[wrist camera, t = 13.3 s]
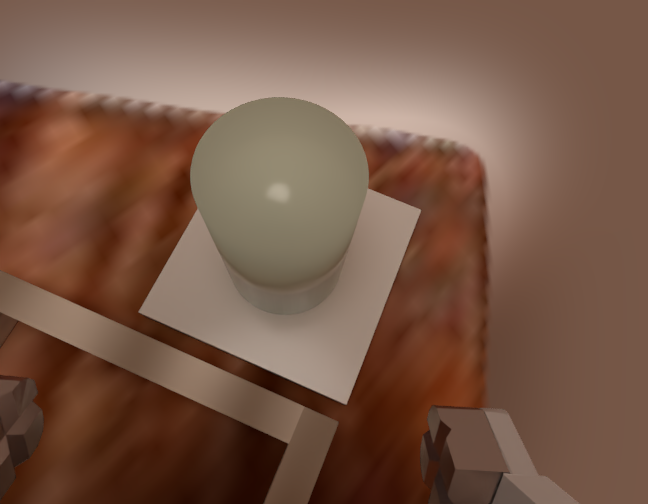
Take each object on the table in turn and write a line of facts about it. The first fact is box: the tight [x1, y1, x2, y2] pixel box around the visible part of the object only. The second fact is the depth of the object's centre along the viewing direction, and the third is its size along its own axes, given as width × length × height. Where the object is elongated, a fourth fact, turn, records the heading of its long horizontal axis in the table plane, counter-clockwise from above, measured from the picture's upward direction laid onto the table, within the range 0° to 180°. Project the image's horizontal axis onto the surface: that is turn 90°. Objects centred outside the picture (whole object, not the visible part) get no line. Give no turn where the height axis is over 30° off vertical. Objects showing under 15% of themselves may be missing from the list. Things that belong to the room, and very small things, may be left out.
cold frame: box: [0, 270, 339, 504], centre depth 21 cm, size 19×12×5 cm, turn 67°
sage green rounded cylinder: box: [190, 97, 369, 315], centre depth 21 cm, size 6×6×10 cm
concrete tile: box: [139, 189, 421, 405], centre depth 27 cm, size 12×12×1 cm
